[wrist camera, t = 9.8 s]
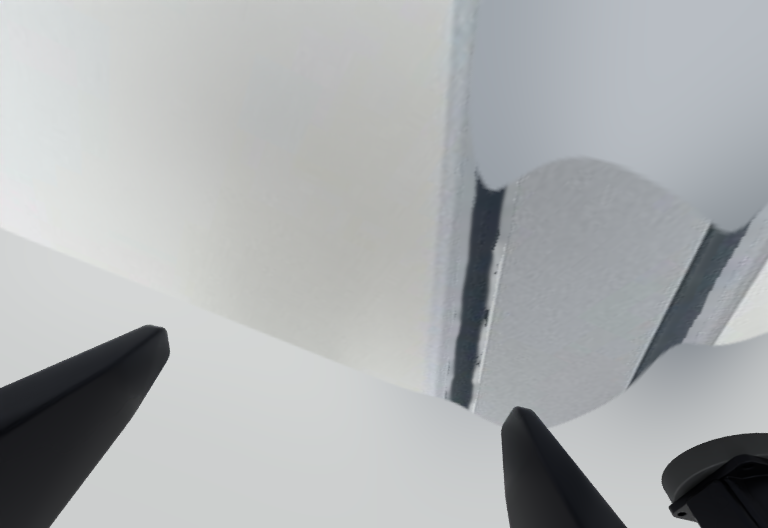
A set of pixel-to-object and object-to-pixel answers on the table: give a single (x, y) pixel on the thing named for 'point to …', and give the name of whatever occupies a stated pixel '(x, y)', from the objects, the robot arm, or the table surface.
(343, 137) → the table surface
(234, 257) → the table surface
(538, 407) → the table surface
